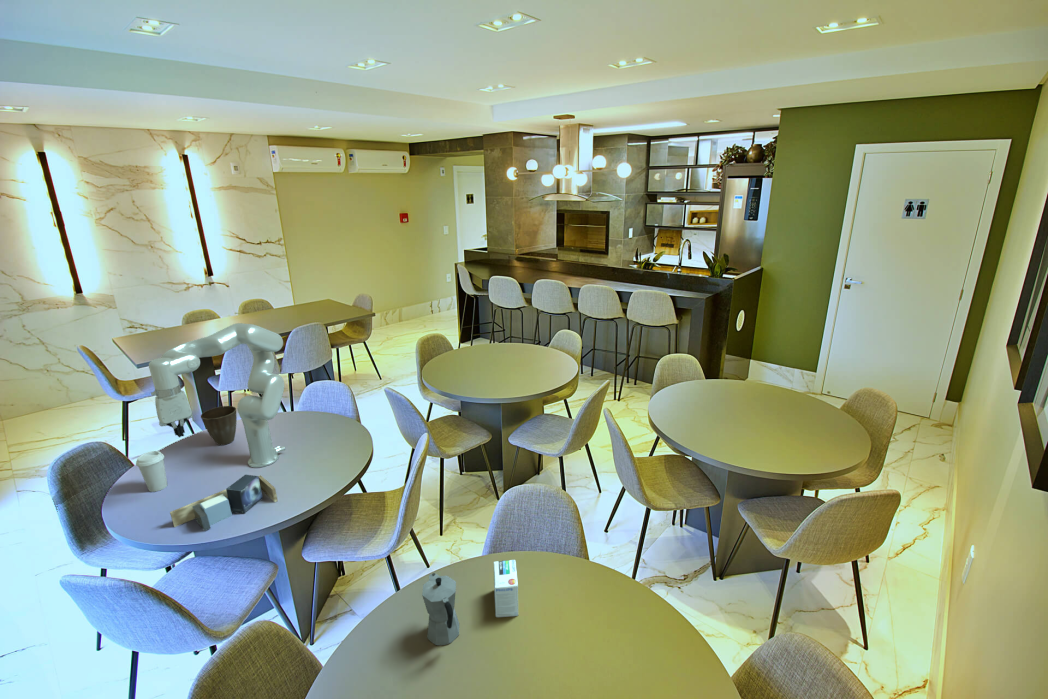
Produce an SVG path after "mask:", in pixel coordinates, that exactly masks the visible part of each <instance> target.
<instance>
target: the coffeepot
mask: <svg viewBox="0 0 1048 699" xmlns="http://www.w3.org/2000/svg"><path fill="white" fill-rule="evenodd" d="M422 585H423V586H422V594H421V597H422V600H423V602H424V605H425V609H426V612H427V614H428V624H427V625H428V626H427V636H426V637H427V639H428V640H429V641H430V642H431V643H432V644H434V645H436V646H446V645H450V644H452V643H453V642H454V641H455V640H456V639H457V638H458V637H459V635H460V622H459V619H458V615H457V611H456V608H455V603H456V602H455V601H456V592H457V591H456V590H457V581H456V580H454V579H453V578H452V577H450V576H449V575H439V574H438V573H436V572H434V573H431V574H429V575H428V581H426V582H425V583H424V584H422Z"/></svg>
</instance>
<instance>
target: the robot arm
mask: <svg viewBox="0 0 1048 699" xmlns="http://www.w3.org/2000/svg"><path fill="white" fill-rule="evenodd" d="M243 344H244V345H247V348H248V349H249V350H250V352H251V354H252V358H253V361H252V366H251V370H250V372H249V377H248V381H247V389H248V390H249V391H250V392H251V393H254V394H255V393H256V394H261V395H262V396H258V395H246V396H244V397H242V398H240V399H239V400H238V403H237V408H236V410H237V413H238V415H239V417H240V419H241V422H242V425H243V428H244V432H245V438H246V442H247V447H248V450H249V455H250V458H248V461H247V465H248V466H249V467H251V468H263V467H267V466H270V465H273V464H274V463H275V462H277V461H278V460H279V458H280V457H279V453H280V452H284V451H286V448H285V446H284V445H282V446H280V445H277V446H276V447H274V445H273V439H272V435H271V431H270V425H269V422H268V421H270V420H273V419H274V418H275V417H276V416H277V414H278V412H279V410H280V407H281V402H282V399H283V395H284V391H285V380H284V378H283V377H282V376H281V375H279V374H277V373H273V372H274V368H275V362H276V360H275V357H274V354H273V353H277V352H279V351H280V350H281V349H283V348H282V347H283V346H284V340H283V338H282V336H281V335H280V334H279V333H277V332H275V331H272V330H269V329H268V328H265V327H262V326H259V325H256V324H252V323H242V322H241V323H239V322H238V323H233V324H230V325H229V326H227V327H225V328H222V329H220V330H219V331H217V332H215V333H213V334H209V335H207V336H204V337H200V338H196V339H194V340H190V341H187V342H184V343H181V344H179V345H177V346H174V347H173V348H170V349H168V350H166V351H165V352H164V353H163V354H162V355H161V356H160V357H159V358H155V359H153V360H151V361H149V363H148V369H149V372H150V376H151V379H152V382H153V383H152V384H153V387H154V390H153V391H152V392H150V394H151V396H152V397H154V396H155V398H154V401H155V402H154V403H155V404H154V405H155V409H156V414H157V418H158V421H159V422H158V425H159V427H166V426H168V427H169V428H170V427H171V428H172V429H173V433H174V435H175V436H177V437H178V438H181V437H184V436H185V433H186V432H185V427H184V426H185V424H186V422H187V421H188V420H190V419H191V418H193V416H194V415H193V412H192V408H191V405H190V402H189V399H188V396H187V394H186V392H185V391H184V390H182V389H181V385H180V381H179V376H180V375H184V374H189V373H192V372H194V371H196V370H197V369H199V367H200V365H201V359H200V358H209V357H215V356H216V357H217V356H221V355H223V354H224V353H227V352H228V351H230V350H232V349H234V348H236V347H238V346H240V345H243ZM176 422H178V424H177V423H176Z"/></svg>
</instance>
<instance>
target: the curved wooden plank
mask: <svg viewBox="0 0 1048 699" xmlns="http://www.w3.org/2000/svg"><path fill="white" fill-rule="evenodd" d="M257 476H258V477H259V482H260V487H261V492H263V493H264V494H266V496H267V497H268V498H269V499H270V500H272V501H273V502H274V503H276V502H278V495H277V491H276V490H277V489H276V487H274V486H273V485H272V484H271V483H270V482H269V481H268V480H267V479H266V478H264V477H263V475H261V474H260V475H257ZM226 489H227V488H225V489H223V490H221V491H219V492H216V493H214V494H211V495H209V496H206V497H205V498H204V497H203V498H201V499H199V500H197V501H194V502H191V503H189V504H187V505H186V504H185V505H184V506H182V507H179V508H177V509H173V510H171V511H169V514H170V518H171V520H172V524H173V527H174V528H176V527H179V526H181V525H183V524H187V523H188V522H190V521H193V520H196V519H195V515H194V511H193V508H192V506H195V505H197V504H199V506H200V503H202V502H205V501H207V500H210V499H212V498H215V497H217V496H220V495H222V494H223V495H224V496H225V497H226V498H227V499H228V495H227V491H226ZM228 501H229V500H228Z"/></svg>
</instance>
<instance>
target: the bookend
mask: <svg viewBox="0 0 1048 699" xmlns="http://www.w3.org/2000/svg"><path fill="white" fill-rule="evenodd" d="M192 508H193V511H194V515H195V519H194V520H196V522H197V523H198V524H199V526H200V527H201V528H202V530H203V531H204V532H206V531H207V530H209V529H211V526H210V524H209V520H208V516H207V514H206V513H205V512H204V510H203V509H202V508H201V507H200V506H199V504H197V505H195V506H192Z"/></svg>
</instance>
